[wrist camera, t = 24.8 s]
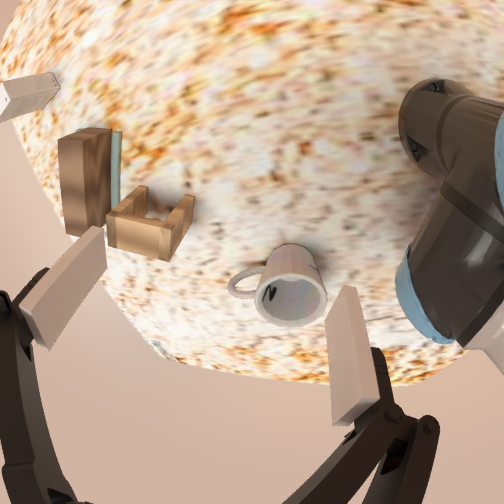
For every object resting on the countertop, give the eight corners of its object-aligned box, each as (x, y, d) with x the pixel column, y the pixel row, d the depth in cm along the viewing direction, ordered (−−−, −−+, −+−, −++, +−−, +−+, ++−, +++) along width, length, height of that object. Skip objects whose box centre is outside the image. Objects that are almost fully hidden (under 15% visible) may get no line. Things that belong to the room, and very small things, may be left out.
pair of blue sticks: (78, 128, 39) (75, 130, 38) (121, 132, 39) (118, 133, 38) (82, 221, 49) (79, 223, 48) (120, 230, 49) (118, 232, 48)
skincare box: (52, 71, 33) (2, 80, 23) (61, 88, 34) (10, 100, 24) (34, 93, 35) (-14, 107, 25) (42, 109, 36) (-6, 126, 26)
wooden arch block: (139, 185, 44) (106, 214, 35) (194, 196, 44) (170, 229, 35) (138, 212, 46) (108, 246, 37) (191, 224, 47) (169, 261, 38)
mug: (319, 286, 51) (323, 328, 43) (236, 285, 53) (227, 326, 44) (323, 235, 45) (331, 274, 37) (230, 235, 47) (218, 272, 39)
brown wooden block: (88, 127, 39) (57, 139, 32) (112, 128, 39) (82, 141, 32) (90, 212, 48) (66, 233, 41) (112, 216, 48) (89, 239, 41)
